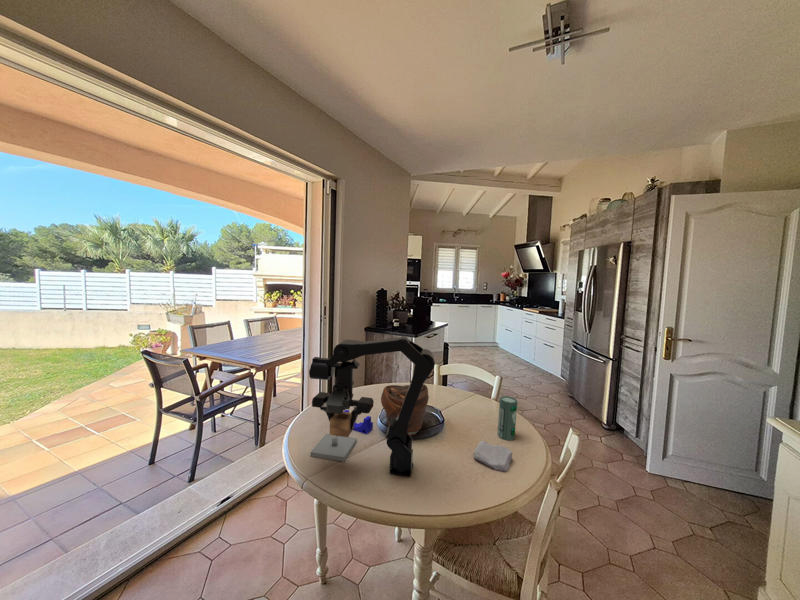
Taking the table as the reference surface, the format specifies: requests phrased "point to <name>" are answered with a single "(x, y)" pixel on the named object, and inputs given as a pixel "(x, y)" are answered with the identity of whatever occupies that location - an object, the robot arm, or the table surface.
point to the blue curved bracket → (363, 425)
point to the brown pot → (394, 400)
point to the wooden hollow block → (341, 424)
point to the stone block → (493, 456)
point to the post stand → (334, 447)
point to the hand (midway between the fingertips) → (342, 428)
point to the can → (507, 418)
